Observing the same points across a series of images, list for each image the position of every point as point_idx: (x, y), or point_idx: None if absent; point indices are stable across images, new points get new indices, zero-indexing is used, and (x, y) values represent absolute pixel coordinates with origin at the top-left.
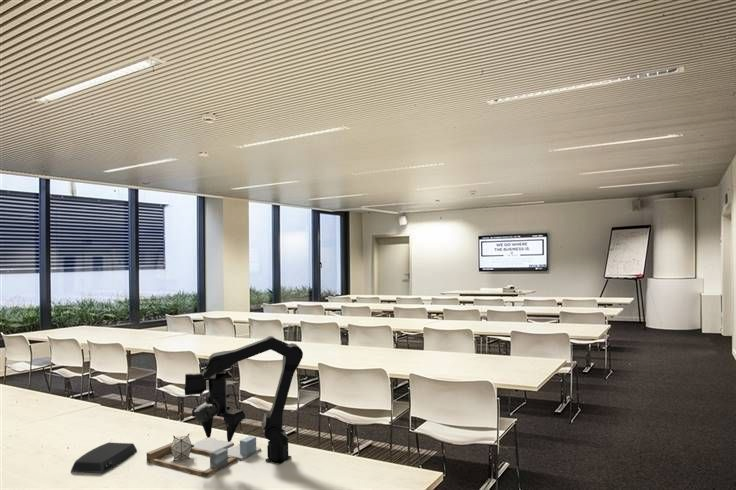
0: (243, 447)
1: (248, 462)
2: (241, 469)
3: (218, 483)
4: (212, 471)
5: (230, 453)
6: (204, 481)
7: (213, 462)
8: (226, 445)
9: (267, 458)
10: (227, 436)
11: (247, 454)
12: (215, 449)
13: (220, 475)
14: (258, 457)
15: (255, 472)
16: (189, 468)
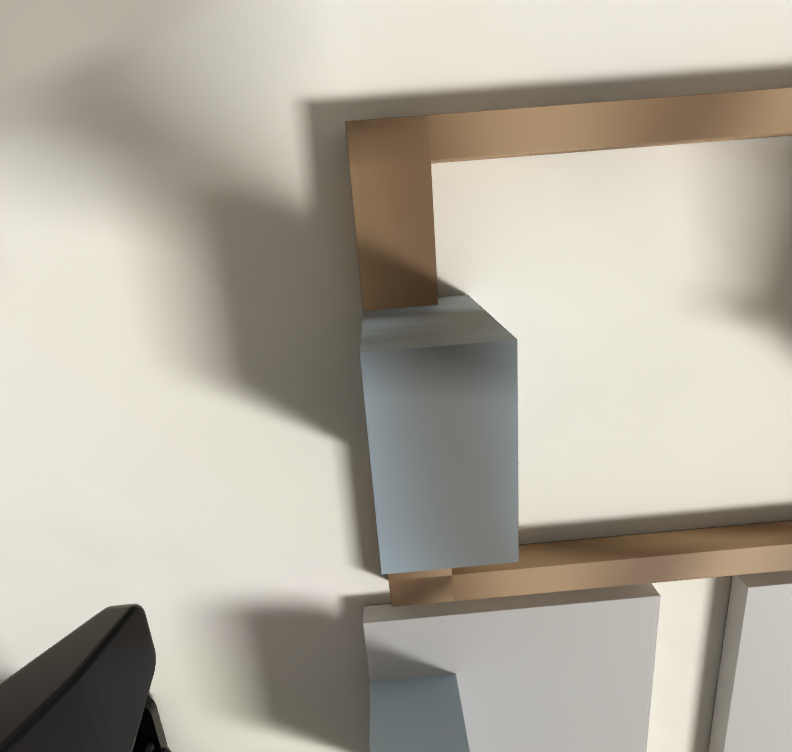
0: (414, 749)
1: (271, 609)
2: (186, 472)
3: (66, 77)
4: (358, 236)
5: (556, 641)
6: (262, 22)
7: (420, 316)
8: (734, 733)
9: (152, 731)
10: (14, 715)
11: (371, 697)
12: (772, 631)
13: (244, 254)
14: (285, 716)
15: (3, 494)
16: (665, 112)
